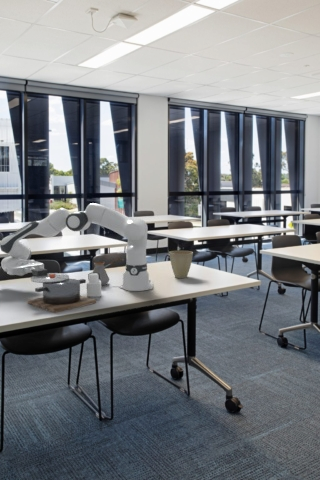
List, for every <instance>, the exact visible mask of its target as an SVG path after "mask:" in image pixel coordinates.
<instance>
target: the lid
mask: <svg viewBox="0 0 320 480" xmlns="http://www.w3.org/2000/svg"><path fill="white" fill-rule="evenodd" d="M48 270H49V269H47V268H44V269H43V268H42V269H35V270H32V272H31V274H32V276H30V281H31V282H33V283H40V284H43V283H55V282H61V281H65V280H68V279H70V275H69V274H67V273H62V272H61V273H60V272H59V273H58V272H48Z"/></svg>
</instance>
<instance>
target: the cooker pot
mask: <svg viewBox="0 0 320 480" xmlns="http://www.w3.org/2000/svg"><path fill="white" fill-rule="evenodd" d="M81 284H87V281H86V279H84V278H81V279H76V278H69V279H68V280H65V281H61V282H55V283H42V286H39V287H35V289H34V291H35V292H36V293H41V292H42V297H43V302H44V303H46V304H51V305H65V304H72V303H76V302H78V301H80V295H81Z"/></svg>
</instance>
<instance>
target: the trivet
mask: <svg viewBox="0 0 320 480" xmlns="http://www.w3.org/2000/svg"><path fill="white" fill-rule="evenodd" d="M92 303H93V304H96V303H97V299H96V298H95V299H94V298H91V297H87V296H84V295H82V294H80V301H78V302H76V303H72V304H65V305H51V304H46V303H44V302H43V296H41V297H36V298H31V299H28V300H27V304H30V305H31V306H34V307H37V308H40V309H43V310H46V309H47V311H49V312H52V313H54V314H56V313H59V312H65V311H68V310H72V309H76V308H81V307H83V306H84V305H85V306H88V304H89V305H93V304H92Z"/></svg>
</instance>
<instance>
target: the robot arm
mask: <svg viewBox="0 0 320 480" xmlns="http://www.w3.org/2000/svg"><path fill="white" fill-rule="evenodd" d="M93 223H94V224H96V225H99V226H101V227H103V228H106V229H109V230H110V231H113V232H114V233H117V234H118V235H120V236H121V237H123V238H125V239H127V243H126V244H127V245H126V250H125V252H126V254H125V256H126V264H125V271H124V272H123V274H122V275H123V276H122V285H120V287H119V288H120V289H124V290H125V291H129V292H143V291H149V290H153V289H154V283H153V281H151V279H150V274H149V272H148V264H147V243H148V227H149V226H148V224H147V222H146V221H145V220H143V219H141V218H136V219H135V218H130V217H129V216H127V215H126V214H124V213H123V212H120V211H118V210H116V209H113V208H111V207H108V206H106V205H103V204H99V203H96V202H95V203H94V202H92V203H89V204H88V205H87V206H86V208H85V210H84V211H83V210H80V211H73V212H70V211H69V210H68V209H66V208H64V207H60V208H58V209H56V210H54V211H53V212H52V213H50V214H49V215H48V216H46V217H45V218H43V219H40V220H34V221H31V222H29V223H27V224H26V225H24V226H22V227H21V228H19V229H18V230H16V231H14V232H13V233H10V234H9V235H6V236H4V237H3V238H2V239H1V240H0V250H1V252H3V253H5V254H7V255H9V256H6V257H4V258H2V260H1V262H0V265H1V268H2V270H3V272H5V273H7V275H10V276H15V275H16V276H20V277H22V276H24V275H26V274H28V273H32V270H35V269H42V268H43V269H45V264H44V263H43V262H40V261H35V259H31V257H32V250H31V248H29V247H28V246H27V245H25V243H22V242H21V240H23V239H25V238H26V237H27V236H28V235H38V236H41V237H44V238H53V237H55V236H57V235H58V234H60V233H61V232H62V231H63V230H64V229H65V228H68V229H69V230H70V231H72V232H84V231H86V230H88V229H90V227H91V225H92V224H93Z"/></svg>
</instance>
